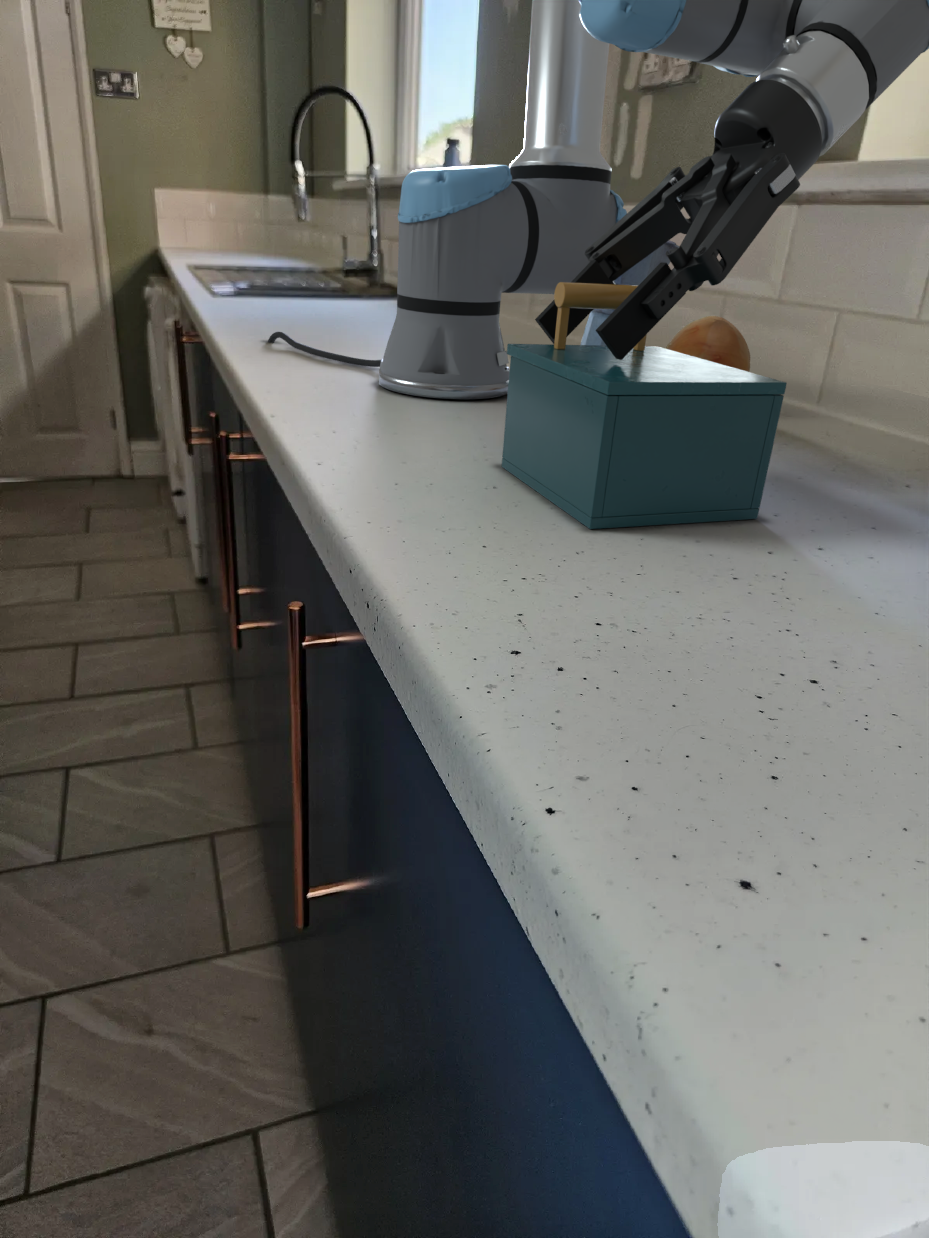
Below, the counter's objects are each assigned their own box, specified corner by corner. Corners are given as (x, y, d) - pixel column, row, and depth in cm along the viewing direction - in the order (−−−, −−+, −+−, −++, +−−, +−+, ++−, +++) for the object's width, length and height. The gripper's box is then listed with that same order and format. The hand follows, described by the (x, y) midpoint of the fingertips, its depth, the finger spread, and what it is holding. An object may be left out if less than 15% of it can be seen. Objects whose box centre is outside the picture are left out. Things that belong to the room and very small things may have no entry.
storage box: (501, 466, 71) (510, 355, 67) (645, 462, 76) (661, 357, 72) (589, 529, 58) (607, 396, 54) (757, 519, 63) (784, 395, 59)
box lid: (506, 354, 68) (512, 277, 66) (656, 356, 73) (667, 285, 70) (607, 395, 54) (620, 300, 52) (784, 394, 59) (803, 307, 56)
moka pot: (660, 385, 113) (687, 216, 105) (543, 373, 116) (560, 207, 107) (660, 374, 122) (685, 217, 113) (551, 364, 124) (567, 209, 116)
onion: (644, 396, 105) (657, 309, 101) (723, 399, 106) (739, 314, 102) (670, 413, 96) (685, 318, 92) (755, 417, 98) (774, 323, 94)
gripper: (677, 96, 72) (489, 292, 73) (879, 44, 53) (623, 309, 54) (720, 173, 76) (541, 359, 77) (923, 150, 57) (683, 396, 58)
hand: (575, 338), depth 65 cm, fingers open, 9 cm apart
